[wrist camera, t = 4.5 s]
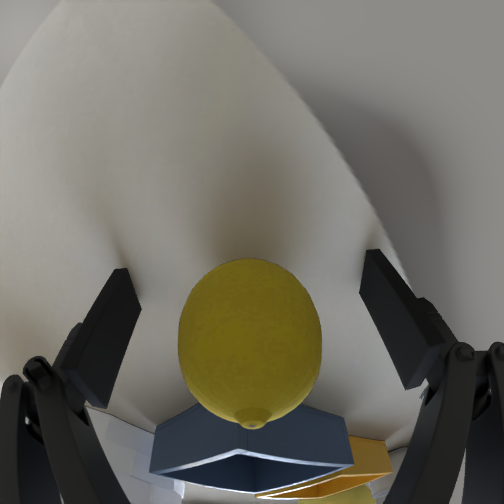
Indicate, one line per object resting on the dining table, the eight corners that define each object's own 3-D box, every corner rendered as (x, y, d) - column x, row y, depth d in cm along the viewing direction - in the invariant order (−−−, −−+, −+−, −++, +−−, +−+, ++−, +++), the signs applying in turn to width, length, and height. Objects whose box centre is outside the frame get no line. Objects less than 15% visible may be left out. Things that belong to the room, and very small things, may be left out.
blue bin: (344, 417, 23) (355, 464, 18) (254, 456, 28) (256, 493, 23) (237, 378, 18) (237, 448, 14) (155, 426, 23) (148, 472, 18)
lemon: (233, 205, 12) (224, 349, 5) (323, 266, 14) (377, 404, 7) (174, 287, 14) (136, 426, 7) (257, 331, 16) (266, 460, 9)
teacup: (352, 466, 36) (360, 502, 29) (401, 441, 31) (413, 480, 24) (392, 462, 40) (399, 491, 33) (433, 438, 35) (444, 469, 29)
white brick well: (183, 476, 35) (179, 564, 18) (58, 439, 31) (39, 519, 15) (194, 428, 23) (186, 593, 7) (1, 362, 20) (-48, 485, 3)
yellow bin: (384, 441, 30) (393, 471, 25) (314, 471, 35) (318, 498, 30) (333, 432, 25) (342, 474, 20) (253, 463, 30) (254, 497, 25)
